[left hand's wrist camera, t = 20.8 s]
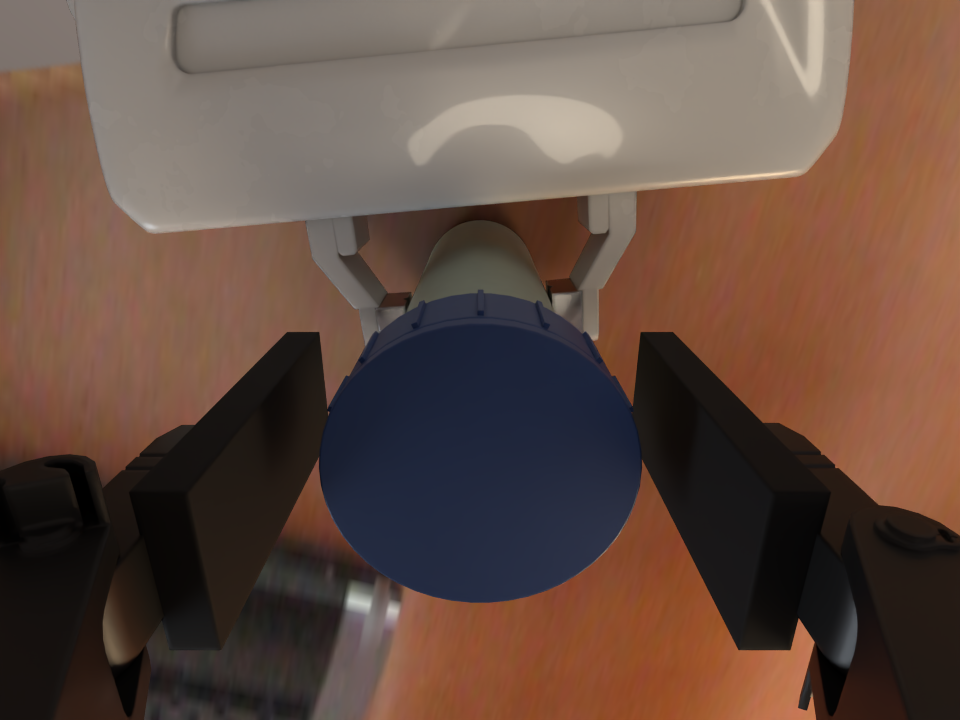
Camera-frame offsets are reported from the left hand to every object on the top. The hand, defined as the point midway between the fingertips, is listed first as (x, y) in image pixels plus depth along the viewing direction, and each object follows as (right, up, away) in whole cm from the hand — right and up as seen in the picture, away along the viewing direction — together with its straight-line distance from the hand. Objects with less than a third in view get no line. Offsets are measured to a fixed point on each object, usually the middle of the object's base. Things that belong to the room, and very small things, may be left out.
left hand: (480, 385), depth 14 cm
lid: (0, -1, -4) cm, 4 cm away
